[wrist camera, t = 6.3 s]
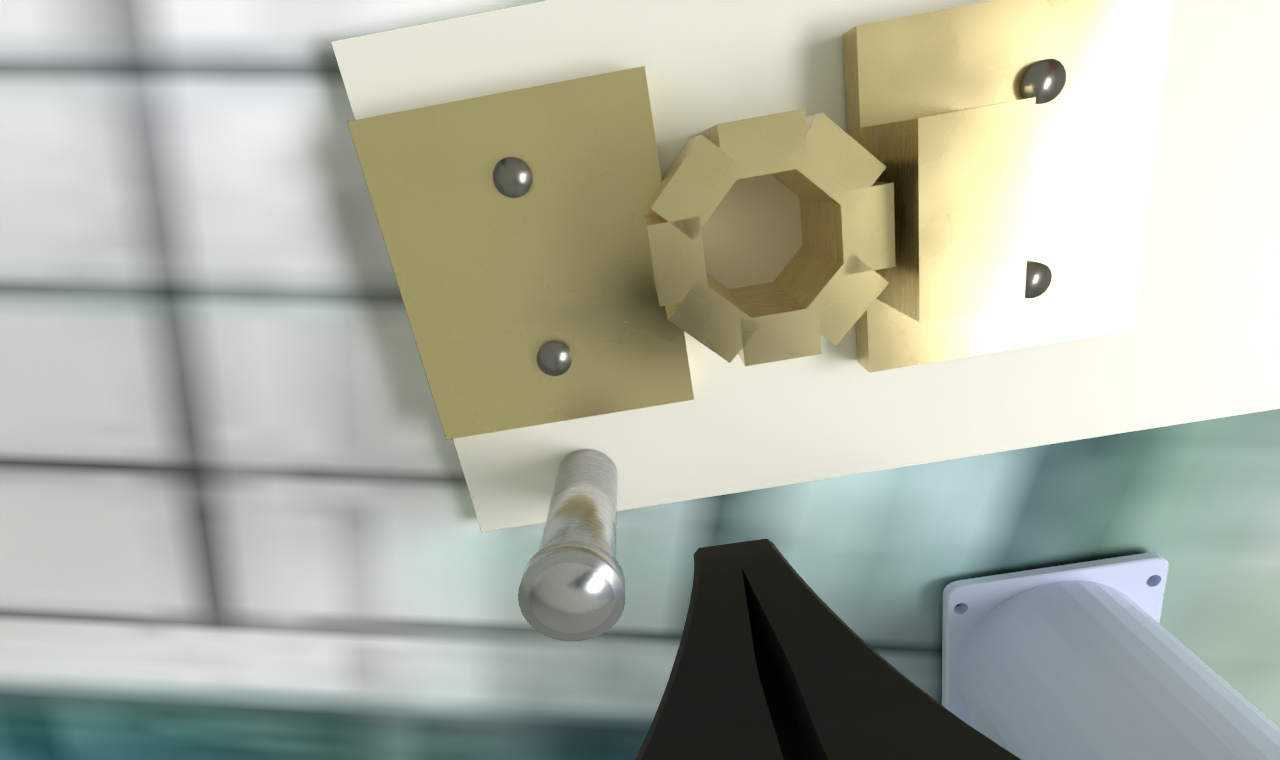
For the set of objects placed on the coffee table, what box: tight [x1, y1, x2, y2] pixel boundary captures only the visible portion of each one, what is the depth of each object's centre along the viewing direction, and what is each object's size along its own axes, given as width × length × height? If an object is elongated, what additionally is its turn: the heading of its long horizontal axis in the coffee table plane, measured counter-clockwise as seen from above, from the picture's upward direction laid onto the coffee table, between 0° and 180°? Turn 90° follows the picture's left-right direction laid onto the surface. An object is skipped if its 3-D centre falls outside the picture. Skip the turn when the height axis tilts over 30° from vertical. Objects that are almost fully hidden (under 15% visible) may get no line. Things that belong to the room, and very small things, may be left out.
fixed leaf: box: [347, 66, 895, 440], centre depth 15 cm, size 9×13×4 cm
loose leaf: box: [842, 0, 1175, 373], centre depth 15 cm, size 9×8×4 cm
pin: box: [518, 449, 625, 641], centre depth 17 cm, size 2×2×6 cm
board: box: [331, 0, 1280, 532], centre depth 18 cm, size 15×28×1 cm, turn 100°
